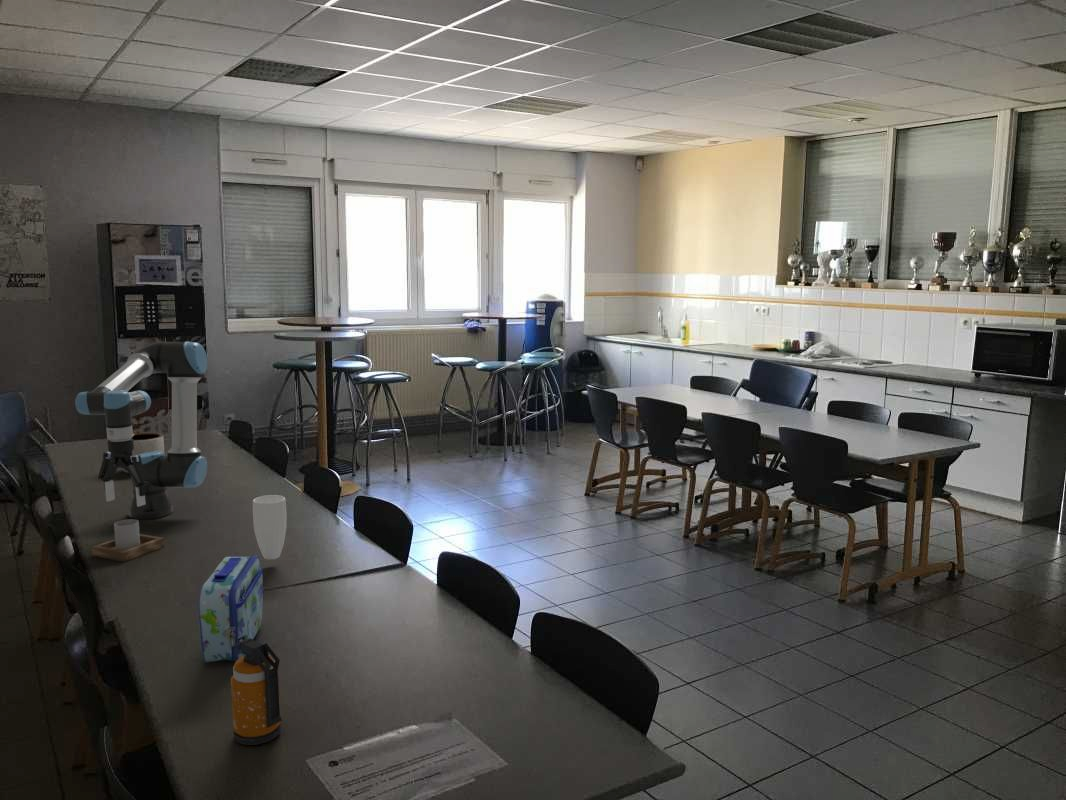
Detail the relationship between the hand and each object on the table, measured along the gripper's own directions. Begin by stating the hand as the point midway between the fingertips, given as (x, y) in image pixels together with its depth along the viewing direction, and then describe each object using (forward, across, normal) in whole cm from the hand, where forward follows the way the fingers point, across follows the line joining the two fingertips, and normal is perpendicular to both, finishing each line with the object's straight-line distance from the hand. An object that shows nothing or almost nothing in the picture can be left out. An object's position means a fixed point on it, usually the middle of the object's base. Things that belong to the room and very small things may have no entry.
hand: (125, 503), depth 275 cm
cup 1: (+15, 0, 0) cm, 15 cm away
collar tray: (+16, 0, -1) cm, 16 cm away
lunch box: (+15, +81, -41) cm, 92 cm away
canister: (+15, +115, -71) cm, 136 cm away
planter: (+18, -84, +82) cm, 119 cm away
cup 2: (+16, +52, +7) cm, 55 cm away
